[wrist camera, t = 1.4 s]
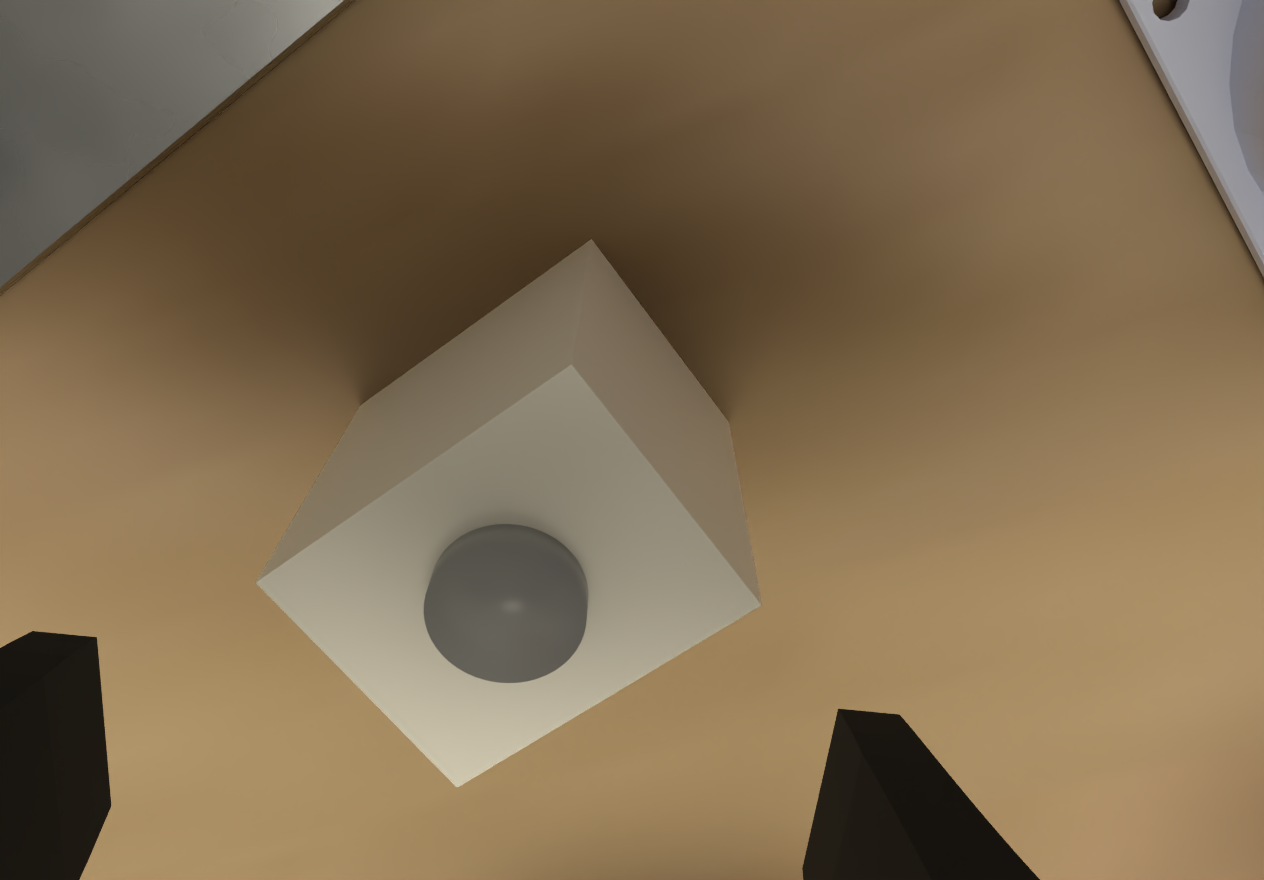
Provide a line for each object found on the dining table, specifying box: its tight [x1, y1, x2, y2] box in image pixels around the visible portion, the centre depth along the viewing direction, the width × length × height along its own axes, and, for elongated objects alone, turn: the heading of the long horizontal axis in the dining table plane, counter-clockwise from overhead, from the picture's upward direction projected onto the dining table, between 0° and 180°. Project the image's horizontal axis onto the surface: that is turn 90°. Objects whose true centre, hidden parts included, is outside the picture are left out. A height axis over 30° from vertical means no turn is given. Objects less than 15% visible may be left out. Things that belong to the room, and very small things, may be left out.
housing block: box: [256, 239, 762, 787], centre depth 17 cm, size 4×5×6 cm
